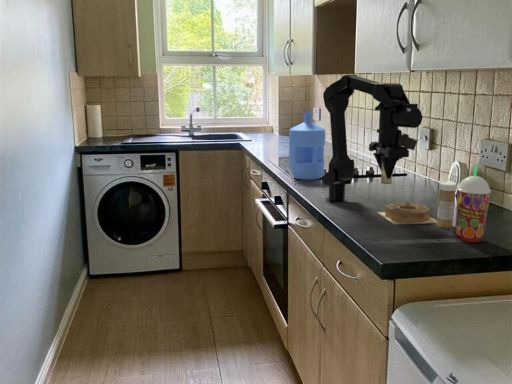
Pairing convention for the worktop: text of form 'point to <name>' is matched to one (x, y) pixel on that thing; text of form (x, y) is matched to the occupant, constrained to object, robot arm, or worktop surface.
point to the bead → (407, 212)
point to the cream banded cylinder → (383, 177)
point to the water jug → (306, 150)
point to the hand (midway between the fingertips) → (386, 177)
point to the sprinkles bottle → (446, 204)
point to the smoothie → (472, 208)
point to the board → (405, 222)
